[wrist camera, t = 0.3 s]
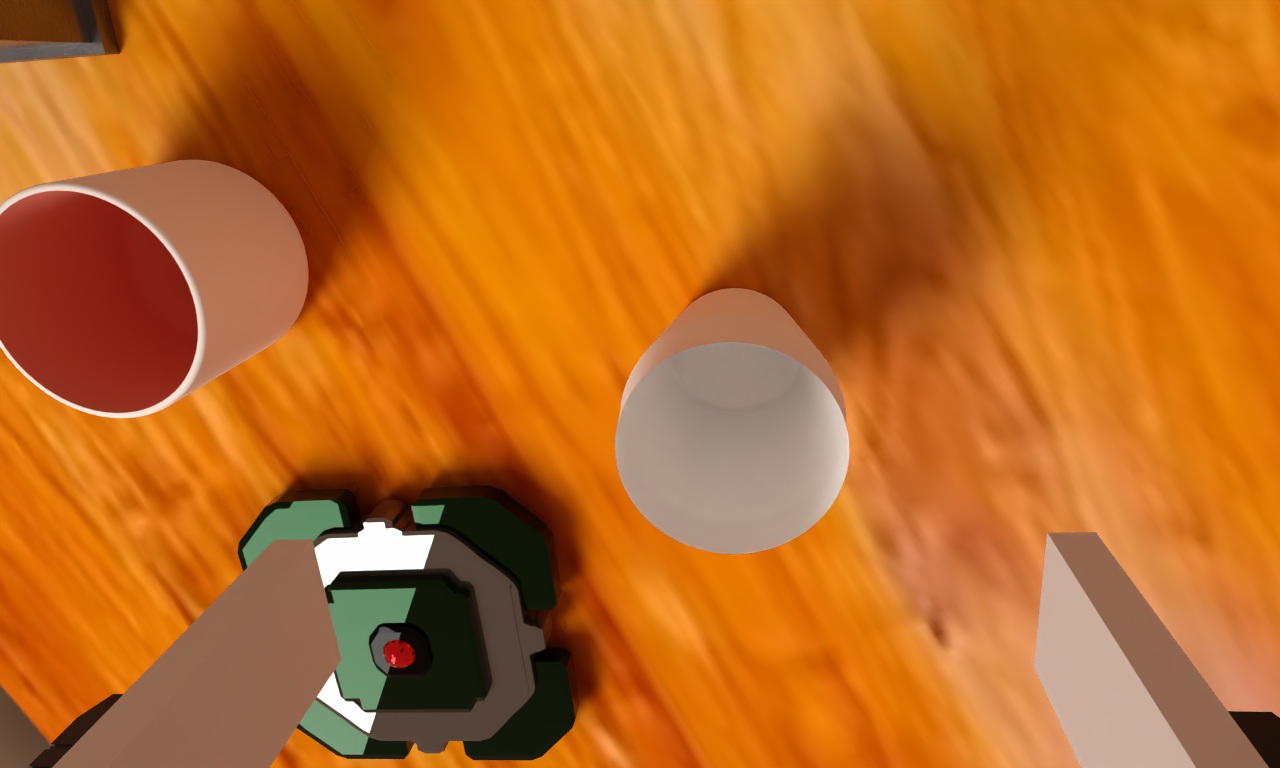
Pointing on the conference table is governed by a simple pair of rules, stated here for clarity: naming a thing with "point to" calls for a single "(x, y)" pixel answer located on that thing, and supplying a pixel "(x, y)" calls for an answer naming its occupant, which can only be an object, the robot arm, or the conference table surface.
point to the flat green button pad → (432, 622)
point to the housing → (54, 30)
